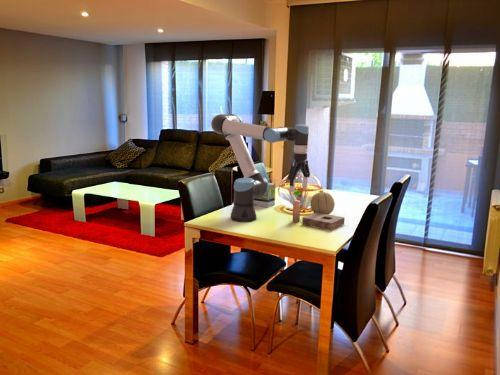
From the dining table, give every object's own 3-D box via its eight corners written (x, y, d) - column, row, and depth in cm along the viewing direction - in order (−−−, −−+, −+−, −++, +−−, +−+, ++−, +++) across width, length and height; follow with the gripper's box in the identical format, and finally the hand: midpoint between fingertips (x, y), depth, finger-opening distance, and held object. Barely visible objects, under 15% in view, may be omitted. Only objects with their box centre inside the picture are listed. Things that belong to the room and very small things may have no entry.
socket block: (302, 224, 243) (302, 217, 243) (316, 218, 256) (316, 212, 255) (331, 230, 233) (331, 223, 232) (344, 224, 245) (344, 217, 244)
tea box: (275, 205, 288) (275, 183, 286) (267, 207, 280) (268, 185, 277) (256, 201, 296) (256, 180, 293) (248, 204, 288) (248, 182, 285)
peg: (291, 221, 249) (291, 201, 247) (294, 219, 252) (295, 199, 250) (297, 222, 247) (297, 202, 244) (300, 221, 250) (301, 200, 247)
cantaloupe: (325, 220, 253) (326, 195, 251) (304, 215, 263) (306, 191, 260) (338, 215, 264) (340, 191, 261) (318, 211, 274) (319, 188, 271)
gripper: (294, 155, 229) (292, 194, 233) (317, 151, 248) (315, 187, 253) (282, 153, 233) (280, 192, 238) (306, 150, 253) (304, 185, 257)
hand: (298, 189), depth 245 cm, fingers open, 13 cm apart
